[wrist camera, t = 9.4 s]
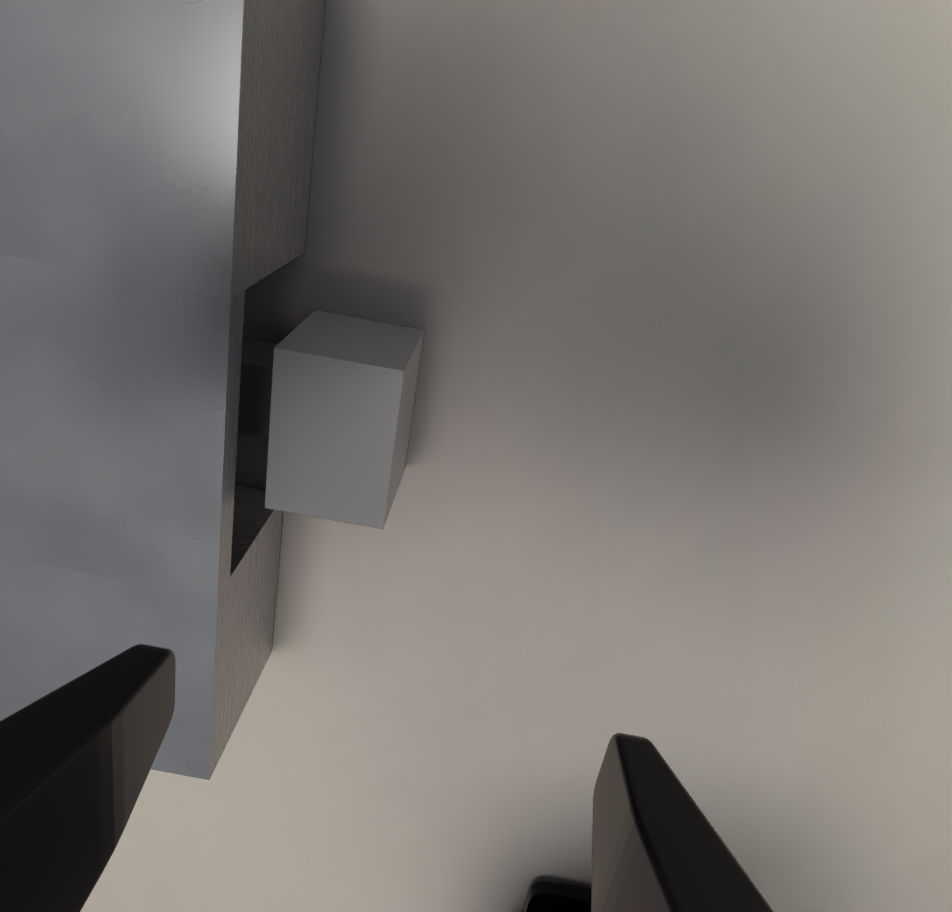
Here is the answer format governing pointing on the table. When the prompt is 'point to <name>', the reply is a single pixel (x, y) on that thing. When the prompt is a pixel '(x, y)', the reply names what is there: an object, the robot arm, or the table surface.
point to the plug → (333, 414)
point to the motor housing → (142, 337)
